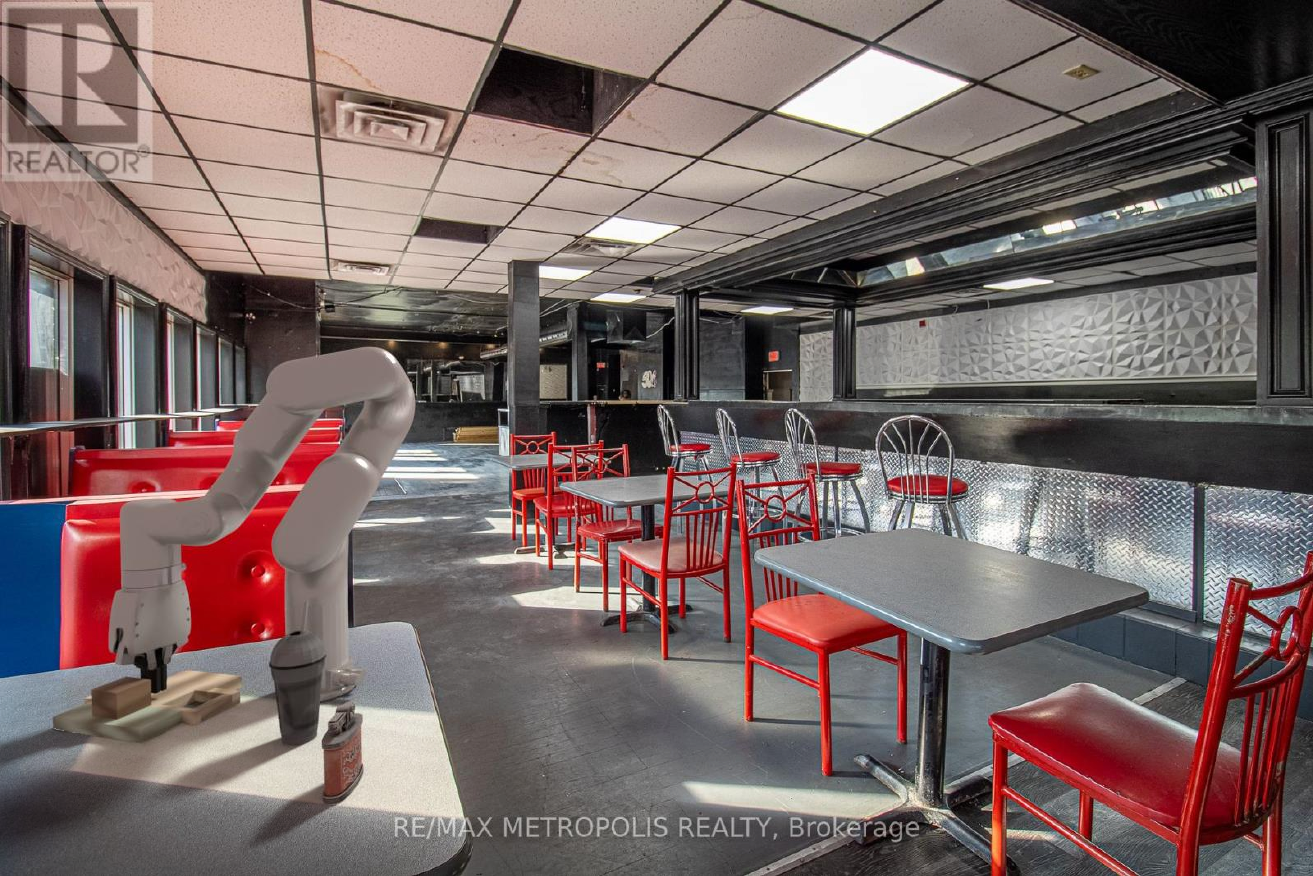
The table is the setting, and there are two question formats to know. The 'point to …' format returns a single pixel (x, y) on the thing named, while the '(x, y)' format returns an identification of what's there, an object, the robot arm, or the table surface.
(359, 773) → the lighter
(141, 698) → the walnut block
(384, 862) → the table surface
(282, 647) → the beverage cup
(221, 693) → the board
